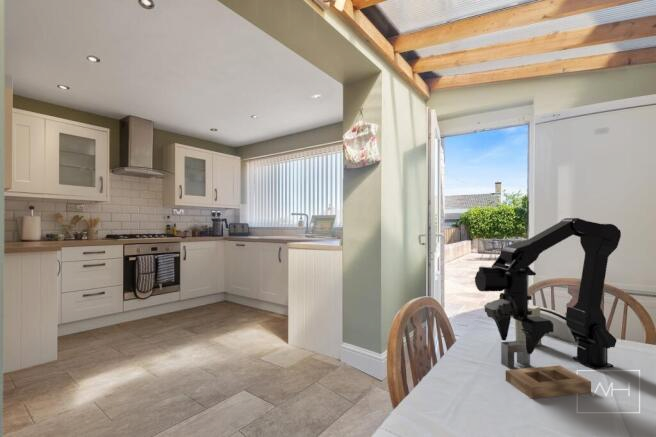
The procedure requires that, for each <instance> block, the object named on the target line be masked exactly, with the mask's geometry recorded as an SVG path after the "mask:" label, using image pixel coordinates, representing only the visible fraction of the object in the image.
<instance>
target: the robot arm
mask: <svg viewBox="0 0 656 437" xmlns="http://www.w3.org/2000/svg"><path fill="white" fill-rule="evenodd" d="M572 236H575V237H579V241H580V245H581V247H582V249H583V252H584V259H583V266H582V272H581V278H580V284H579V292H578V297H577V301H576V303H575V304H574V305H573V306H569V305H568V306H567V307H566V314H565V315H566V317H565V320H566V324H567V326H568V327H569V329H570V330H571V333H572V335H573V336H575V337H578V338H579V339H577V346H576V356H572V360H575V361H577V362H579V363H581V364H583V365H585V366H588V367H590V368H592V369H594V370H599V369H609V368H614V364H612V363H609V362H608V354H609V353H608V352H609V351H608V349H611V348H615V346H616V343H617V339H616V337H615V336H613V334H611V333H610V331H609V330H608V329H607V319H606V316H605V314H604V312H603V311H602V308H601V305H602V299H603V293H604V287H605V280H606V274H607V267H608V262H609V257H610V255H611V254H612V253H614V252H615V250H616V249H617V248H618V246H619V243H620V240H621V238H622V232H621V230H620V229H619V228H618V226H616V225H615V224H613V223H598V222H594V221H590V220H589V221H588V220H585V219H581V218H579V217H566V218H563V219H561V220H560V221H559V222H557V223H555V224H553V225H552V226H550V227H548V228H547V229H544V230H543V231H541V232H538V233H537V234H536V235H534V236H531V237H530V238H529V239H526V240H523V241H518V242H513V243H511V244H508V245H505V246H504V247H502V248H501V249H500V254H499V256H498V257H497V258H496V260H495V261H494V262H493V264H492V265H491V266H479V267H478V271H477V272H476V274H475V277H474V282H475V286H476V289H477V290H478V291H479V292H500V293H499V298H498V299H495V300H492V301H491V302H490V301H489V302H487V303H485V305H484V312H485V313H486V316H487V317H488V318H491V319H492V320H493V321H494V322H495V325H496V327H497V330H498V333H499V335H500V339H501V341H507V337H508V334H509V329H510V325H511V319H514V320H515V319H516V320H518V321H521V322H522V326H523V328H524V329H521V330H522V331H523V332H524V334H525V336H526V350H527V354H530V355H532V354H533V353H534V350H535V349H536V348H537V346H538V345H537V344H538V343H539V341H540V340H541V341H542V339H543V337H544V336H546V334H547V335H549V334H548V333H549V332H553V323H552V322H551V321H550V320H548V319H545V318H542V317H540V316H536V317H527V315H532V311H530V310H528V304H529V301H531V300H533V299H532V298H533V297H532V295H529V289H528V288H529V287H528V286H529V284H528V283H529V282H528V280H529V276H536V275H537V273H536V272H535V271H533V269H531V267H530V266H531V265H532V264H533V263H535V261H537V260H538V258H539V256H540V255H541V254H542V253H543V252H545V251H547V250H549V249H550V248H552V247H554V246H555V245H557V244H559V243H561V242H562V241H564V240H566V239H568V238H569V237H572Z"/></svg>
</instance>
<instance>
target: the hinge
mask: <svg viewBox="0 0 656 437" xmlns="http://www.w3.org/2000/svg"><path fill="white" fill-rule="evenodd" d="M539 307H540V317H542V318H545V319H548V320H550V321H551V322H552V323H553V332H549V333H548V334H547V335H549V336H550V335H551V337H552V336H553V337H556V338H559V339H561V340H565V341H568V342H571V343H575V342H576V340H578V339H579V338H578V337H575V336H573V335H572V333H571V330H570V329H569V327H568V326H567V324H566V320H565V317H566V314H564V313H562V312H559V311H557V310H553V309H550V308H548V307H543V306H539Z"/></svg>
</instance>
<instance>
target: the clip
mask: <svg viewBox="0 0 656 437" xmlns="http://www.w3.org/2000/svg"><path fill="white" fill-rule="evenodd" d="M500 344H501V345H500V363H501V365H502V366H504V367H506V368H515V353H516V363H518V364H520V365H521V366H523V367H528V366H529V367H530V366H531V354H527V350H526V342H525V341H516V340H515V341H514V340H512V341H511V340H510V341H501V342H500Z"/></svg>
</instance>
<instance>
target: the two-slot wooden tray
mask: <svg viewBox="0 0 656 437" xmlns="http://www.w3.org/2000/svg"><path fill="white" fill-rule="evenodd" d="M505 381H506V382H507V383H509V384H510V385H511V386H512V387H514V388H515V389H517V390H518V391H520V392H521V393H523V394H524V395H526V396H527V397H529V398H530V399H531V400H532V399H533V400H534V399H541V398H549V397H558V396H559V397H560V396H567V395H568V396H569V395H576V394H585V393H586V394H587V393H591V392H592V381H591V380H590V379H588V378H586V377H583V376H582V375H580V374H577V373H575V371H572V370H570V369H568V368H566V367H564V366H562V365H560V364H559V365H550V366H538V367H529V368H517V369H507V370H506V369H505Z"/></svg>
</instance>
